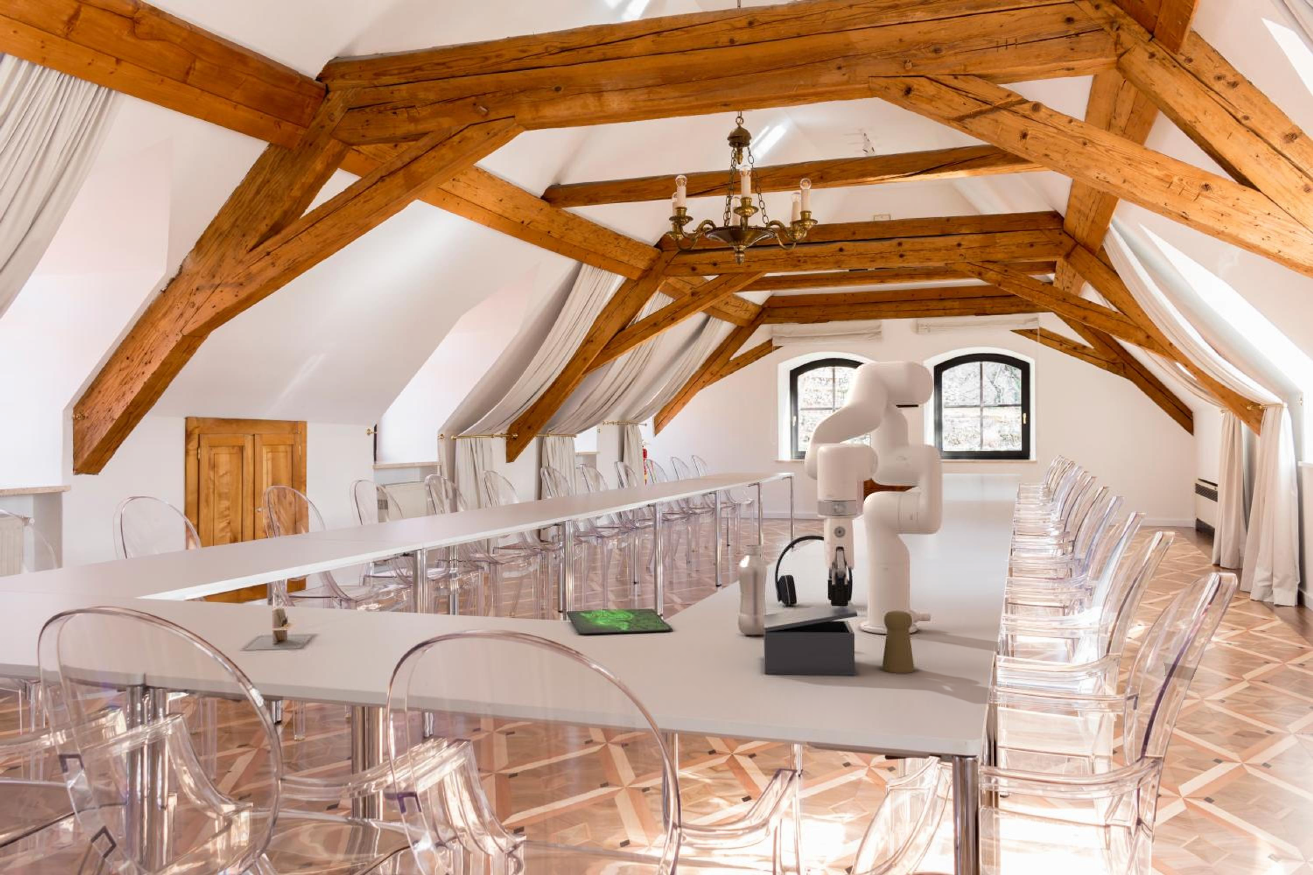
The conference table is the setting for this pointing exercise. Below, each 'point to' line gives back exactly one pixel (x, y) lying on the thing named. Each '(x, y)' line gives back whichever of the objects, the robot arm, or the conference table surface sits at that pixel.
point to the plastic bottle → (752, 591)
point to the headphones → (786, 582)
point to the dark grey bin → (811, 649)
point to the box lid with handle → (808, 616)
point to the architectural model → (279, 634)
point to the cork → (898, 643)
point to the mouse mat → (617, 621)
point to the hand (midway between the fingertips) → (837, 601)
